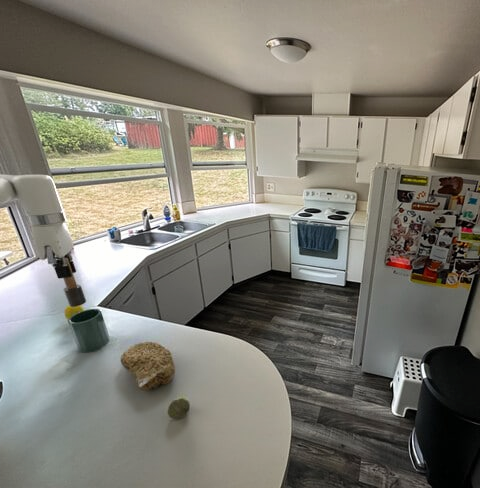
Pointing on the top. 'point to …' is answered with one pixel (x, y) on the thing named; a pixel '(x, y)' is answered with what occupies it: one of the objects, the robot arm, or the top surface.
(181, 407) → the lime
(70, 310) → the lemon
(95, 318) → the teal ceramic mug
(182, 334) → the top surface
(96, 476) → the top surface
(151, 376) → the beige grainy bag
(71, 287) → the brush
